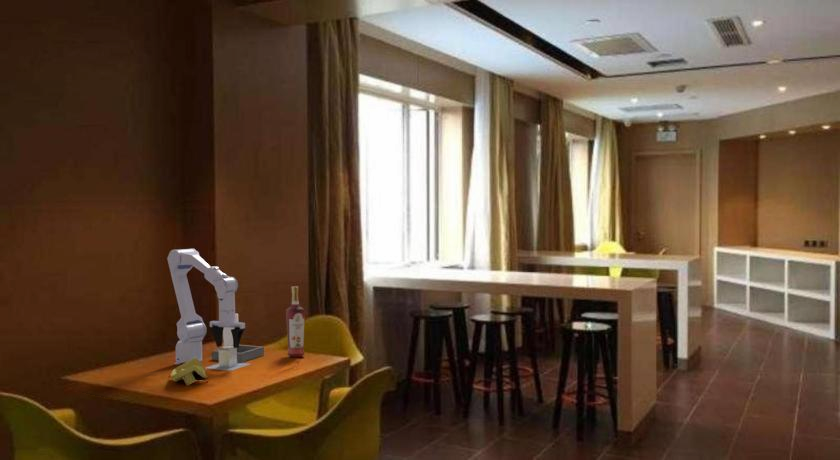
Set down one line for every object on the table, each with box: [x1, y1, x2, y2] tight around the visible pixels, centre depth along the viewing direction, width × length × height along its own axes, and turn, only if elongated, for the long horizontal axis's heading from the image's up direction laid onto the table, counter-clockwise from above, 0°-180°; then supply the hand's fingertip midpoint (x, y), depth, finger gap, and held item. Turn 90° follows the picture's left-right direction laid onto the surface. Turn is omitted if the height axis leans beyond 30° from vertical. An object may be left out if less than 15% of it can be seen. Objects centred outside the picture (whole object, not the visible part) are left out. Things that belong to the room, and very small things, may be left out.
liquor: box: [285, 286, 306, 359], centre depth 282 cm, size 7×7×28 cm
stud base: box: [205, 362, 251, 372], centre depth 262 cm, size 12×12×6 cm
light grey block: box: [218, 345, 238, 368], centre depth 262 cm, size 5×5×7 cm
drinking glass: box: [222, 312, 239, 346], centre depth 298 cm, size 7×7×15 cm
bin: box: [211, 344, 265, 363], centre depth 278 cm, size 14×14×4 cm
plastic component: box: [170, 358, 209, 386], centre depth 245 cm, size 20×7×10 cm
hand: (227, 347), depth 262 cm, fingers open, 7 cm apart
